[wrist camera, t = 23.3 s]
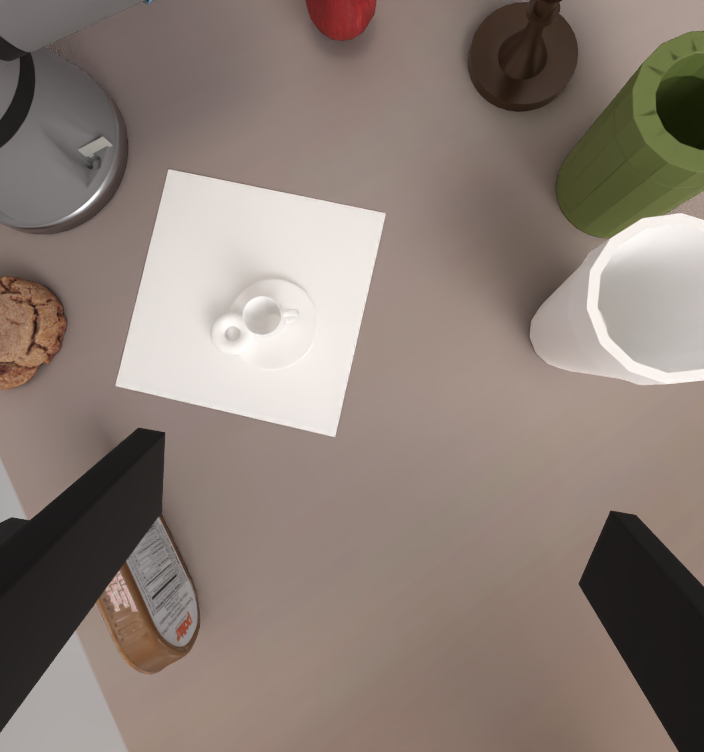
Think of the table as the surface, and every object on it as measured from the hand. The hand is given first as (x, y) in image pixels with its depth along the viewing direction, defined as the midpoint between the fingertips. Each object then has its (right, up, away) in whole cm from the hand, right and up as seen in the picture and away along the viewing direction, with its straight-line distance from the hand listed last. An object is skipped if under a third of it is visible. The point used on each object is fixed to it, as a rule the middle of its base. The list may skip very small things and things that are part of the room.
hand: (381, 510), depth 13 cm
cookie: (-32, +8, +26) cm, 42 cm away
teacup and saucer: (-10, +11, +26) cm, 29 cm away
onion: (-2, +35, +26) cm, 44 cm away
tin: (-17, -11, +25) cm, 32 cm away
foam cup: (+17, +8, +24) cm, 31 cm away
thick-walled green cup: (+21, +20, +24) cm, 38 cm away
